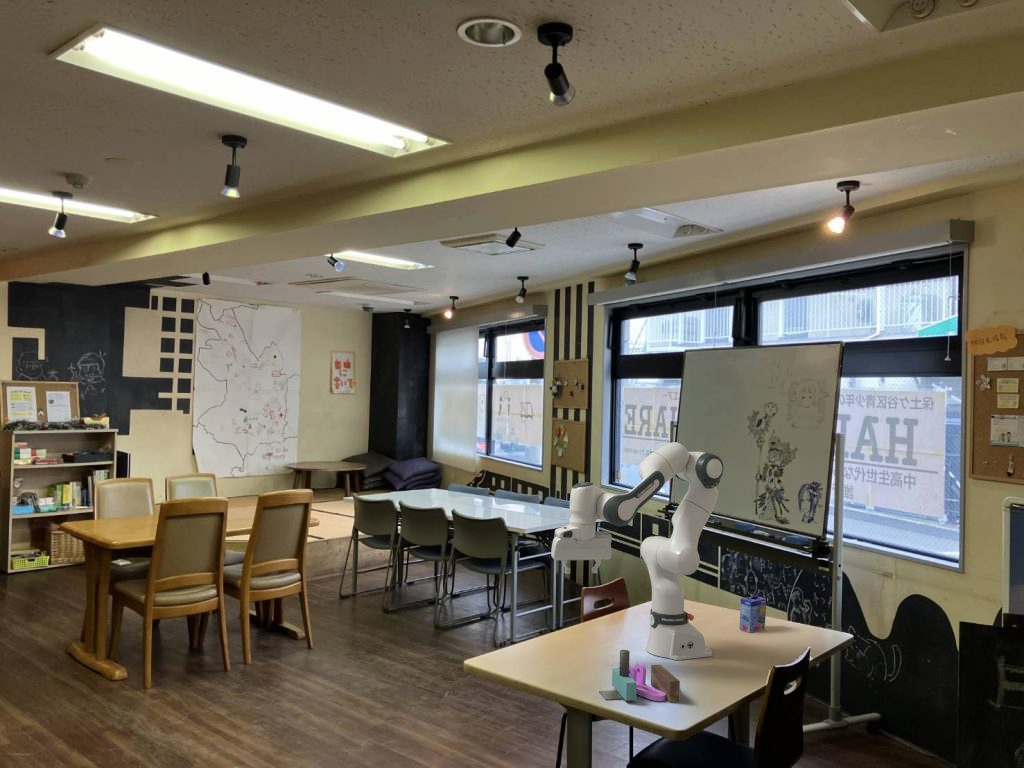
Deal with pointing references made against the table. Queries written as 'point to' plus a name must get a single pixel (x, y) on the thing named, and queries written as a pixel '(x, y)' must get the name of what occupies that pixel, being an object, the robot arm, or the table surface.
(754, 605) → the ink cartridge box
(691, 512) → the robot arm
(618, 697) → the base
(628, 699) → the clamp jaw
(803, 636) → the table surface
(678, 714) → the table surface
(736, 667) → the table surface
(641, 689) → the bracket
